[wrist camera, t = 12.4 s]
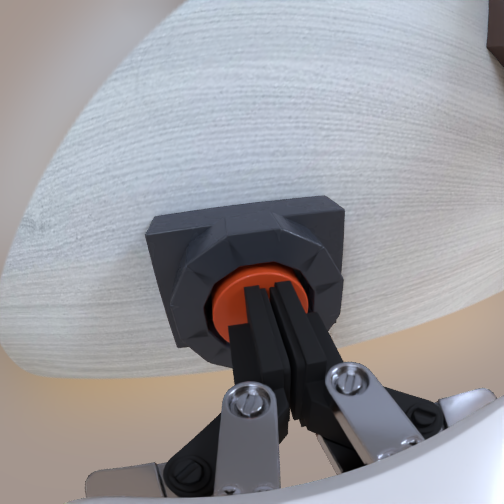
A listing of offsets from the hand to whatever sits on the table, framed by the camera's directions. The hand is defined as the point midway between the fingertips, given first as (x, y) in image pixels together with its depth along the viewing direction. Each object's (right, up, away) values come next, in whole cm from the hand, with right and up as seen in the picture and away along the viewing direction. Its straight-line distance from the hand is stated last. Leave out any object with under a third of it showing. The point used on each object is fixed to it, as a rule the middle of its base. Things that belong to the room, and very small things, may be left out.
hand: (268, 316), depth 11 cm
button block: (-1, +2, +4) cm, 4 cm away
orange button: (-1, +1, +1) cm, 2 cm away
